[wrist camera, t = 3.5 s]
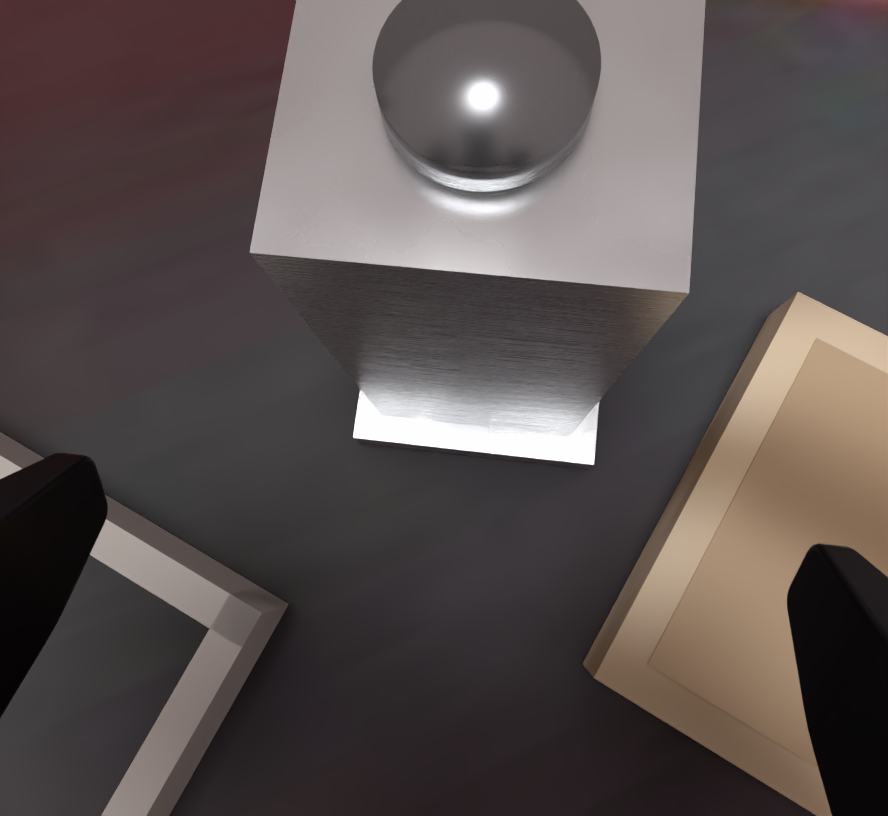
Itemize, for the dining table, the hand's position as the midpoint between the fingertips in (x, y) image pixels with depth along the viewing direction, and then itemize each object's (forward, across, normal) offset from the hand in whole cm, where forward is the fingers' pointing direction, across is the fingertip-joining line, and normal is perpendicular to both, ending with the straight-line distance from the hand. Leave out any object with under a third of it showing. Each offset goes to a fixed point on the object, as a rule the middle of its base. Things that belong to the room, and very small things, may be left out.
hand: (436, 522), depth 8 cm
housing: (+12, 0, +4) cm, 13 cm away
